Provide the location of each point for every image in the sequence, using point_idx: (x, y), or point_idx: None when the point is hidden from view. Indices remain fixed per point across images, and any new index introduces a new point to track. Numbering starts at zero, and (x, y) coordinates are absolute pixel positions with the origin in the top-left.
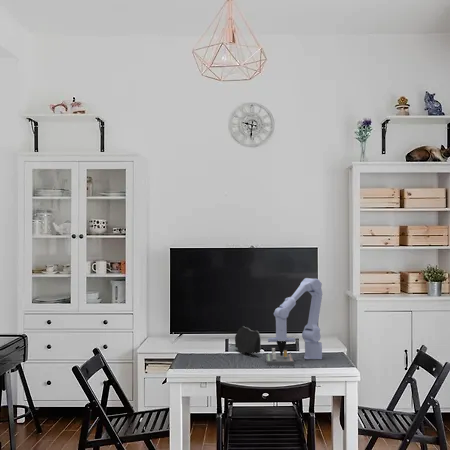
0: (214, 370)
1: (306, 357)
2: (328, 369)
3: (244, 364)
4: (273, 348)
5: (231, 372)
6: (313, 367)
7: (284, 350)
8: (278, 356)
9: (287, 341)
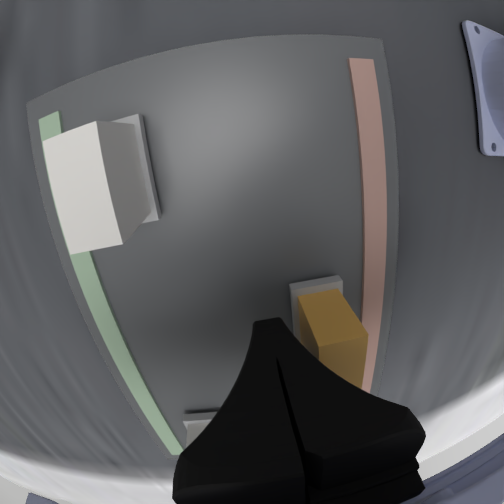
0: (34, 474)
1: (495, 122)
2: (476, 410)
3: (37, 413)
4: (77, 186)
5: (98, 501)
6: (444, 407)
7: (331, 369)
8: (213, 243)
9: (435, 486)
